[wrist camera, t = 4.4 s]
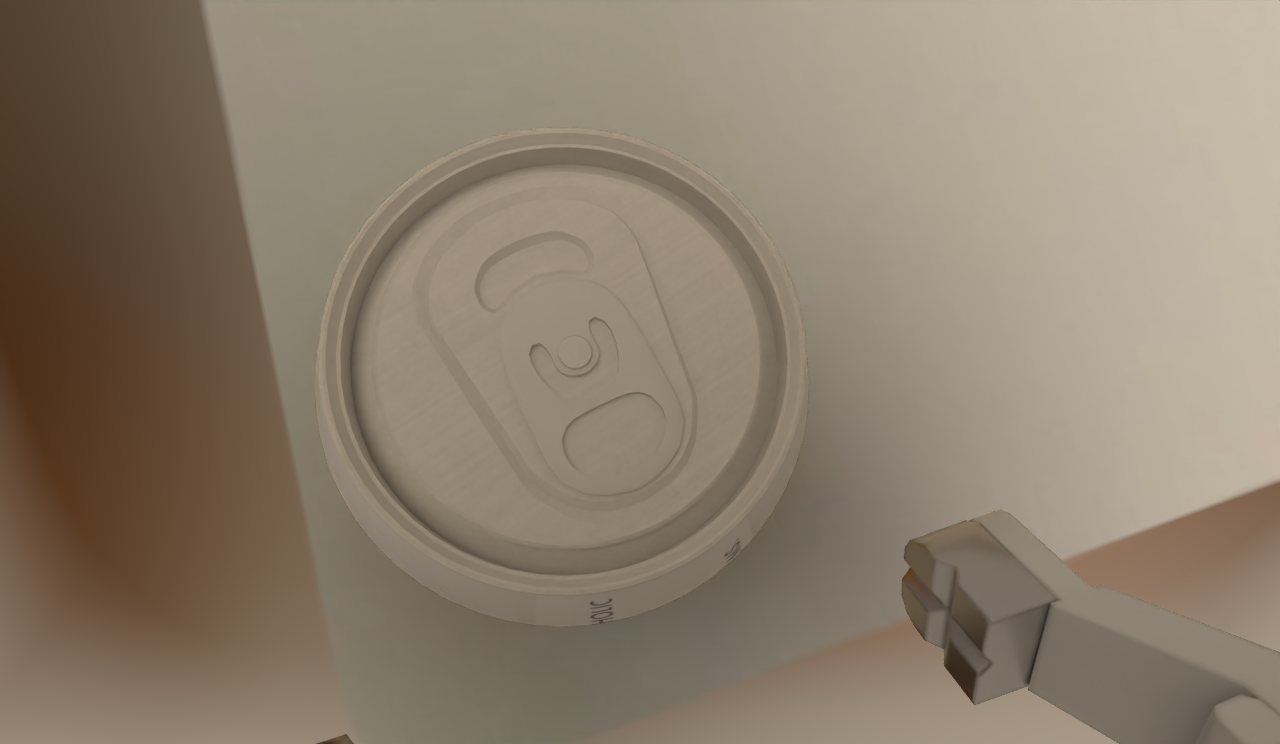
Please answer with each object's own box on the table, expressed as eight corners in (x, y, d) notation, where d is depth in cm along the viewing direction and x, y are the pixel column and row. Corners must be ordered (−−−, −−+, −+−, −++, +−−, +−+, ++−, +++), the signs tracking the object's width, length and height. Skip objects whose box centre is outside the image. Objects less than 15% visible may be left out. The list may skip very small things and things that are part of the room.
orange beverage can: (612, 352, 23) (685, 28, 9) (698, 520, 22) (943, 468, 8) (439, 433, 22) (192, 212, 8) (521, 614, 21) (417, 761, 6)
